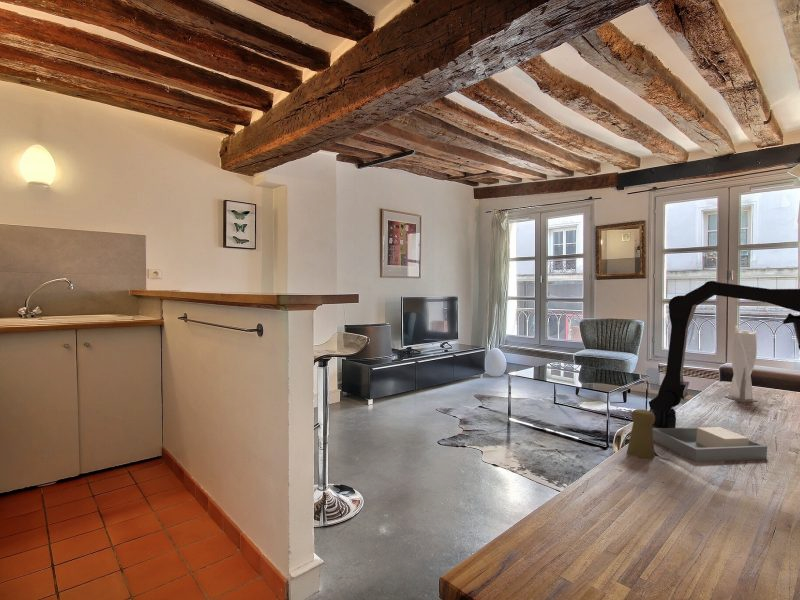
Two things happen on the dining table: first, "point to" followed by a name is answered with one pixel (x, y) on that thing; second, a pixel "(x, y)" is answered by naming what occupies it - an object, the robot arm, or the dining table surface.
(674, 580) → the dining table surface
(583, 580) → the dining table surface
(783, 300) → the robot arm
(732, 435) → the cream beveled block
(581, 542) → the dining table surface
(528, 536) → the dining table surface
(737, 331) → the skyscraper
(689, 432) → the tray
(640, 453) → the olive tall rounded piece
